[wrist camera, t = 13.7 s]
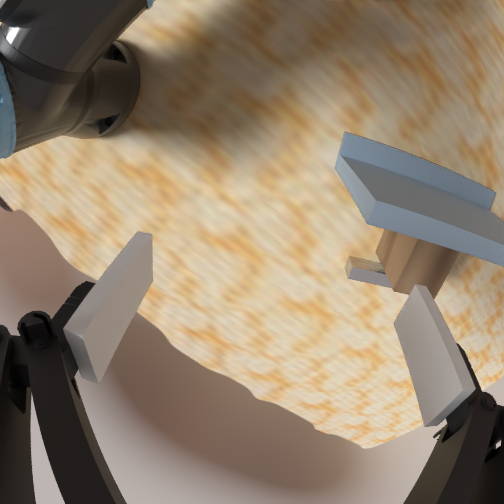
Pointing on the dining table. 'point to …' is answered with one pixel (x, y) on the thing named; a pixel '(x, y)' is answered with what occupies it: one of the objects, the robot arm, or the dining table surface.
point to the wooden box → (414, 262)
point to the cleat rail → (366, 272)
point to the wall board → (420, 198)
